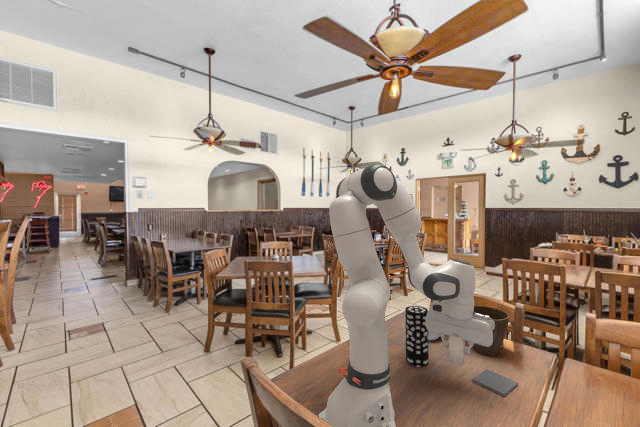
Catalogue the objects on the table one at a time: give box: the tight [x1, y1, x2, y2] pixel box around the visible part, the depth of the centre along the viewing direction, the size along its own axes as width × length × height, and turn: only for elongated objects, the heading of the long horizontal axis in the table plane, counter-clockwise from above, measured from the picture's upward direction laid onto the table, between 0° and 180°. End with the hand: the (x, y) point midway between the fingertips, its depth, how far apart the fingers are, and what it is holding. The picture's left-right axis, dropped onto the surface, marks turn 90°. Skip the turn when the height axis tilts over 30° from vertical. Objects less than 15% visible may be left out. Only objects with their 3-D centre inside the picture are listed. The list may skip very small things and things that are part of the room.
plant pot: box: [474, 305, 510, 357], centre depth 119 cm, size 15×15×16 cm
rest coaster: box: [471, 368, 519, 398], centre depth 98 cm, size 10×10×1 cm
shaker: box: [446, 333, 466, 366], centre depth 97 cm, size 5×5×10 cm
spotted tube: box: [404, 305, 430, 368], centre depth 112 cm, size 8×8×20 cm
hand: (456, 349), depth 97 cm, fingers closed on shaker, 5 cm apart
